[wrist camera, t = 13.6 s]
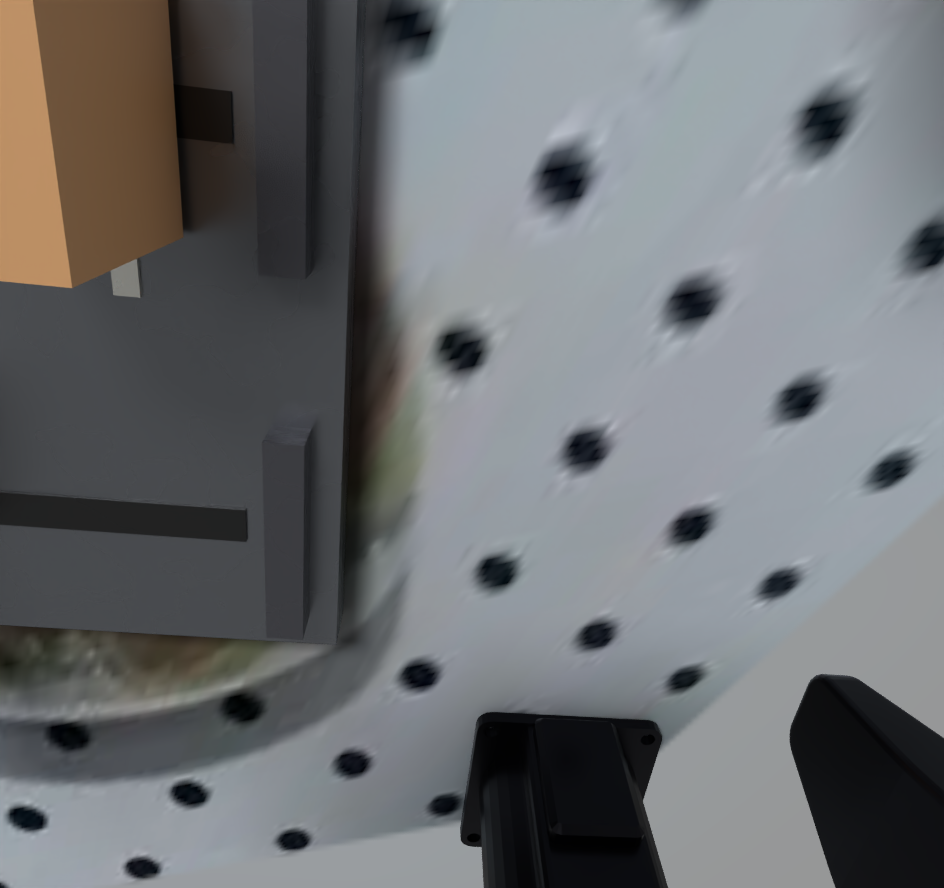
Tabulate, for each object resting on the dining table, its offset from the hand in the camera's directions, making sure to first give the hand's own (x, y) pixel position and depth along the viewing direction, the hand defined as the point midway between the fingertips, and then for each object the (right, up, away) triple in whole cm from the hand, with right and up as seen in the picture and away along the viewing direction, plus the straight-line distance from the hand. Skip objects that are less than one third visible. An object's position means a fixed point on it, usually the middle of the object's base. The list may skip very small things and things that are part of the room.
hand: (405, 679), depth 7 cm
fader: (-7, +9, +7) cm, 13 cm away
